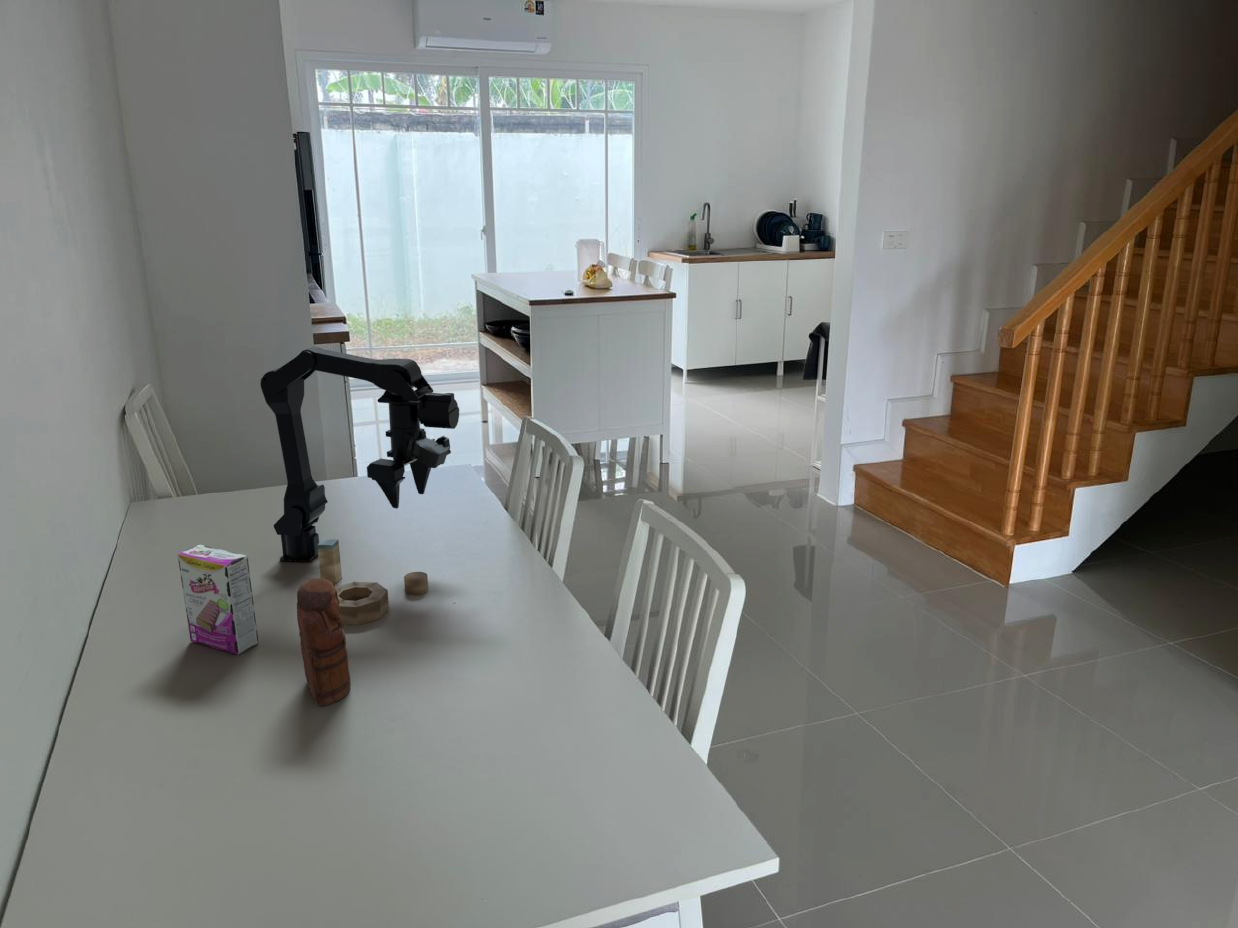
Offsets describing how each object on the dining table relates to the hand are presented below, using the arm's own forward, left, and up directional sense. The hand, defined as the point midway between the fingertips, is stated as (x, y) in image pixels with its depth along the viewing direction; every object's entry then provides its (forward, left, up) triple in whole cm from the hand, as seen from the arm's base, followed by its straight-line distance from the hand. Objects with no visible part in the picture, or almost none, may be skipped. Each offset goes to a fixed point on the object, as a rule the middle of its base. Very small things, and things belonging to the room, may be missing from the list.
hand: (408, 500), depth 188 cm
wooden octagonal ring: (-4, -22, -14) cm, 26 cm away
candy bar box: (-22, -36, -14) cm, 44 cm away
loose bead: (+4, -12, -14) cm, 19 cm away
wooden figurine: (+1, -48, -14) cm, 50 cm away
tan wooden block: (-14, -9, -14) cm, 21 cm away
